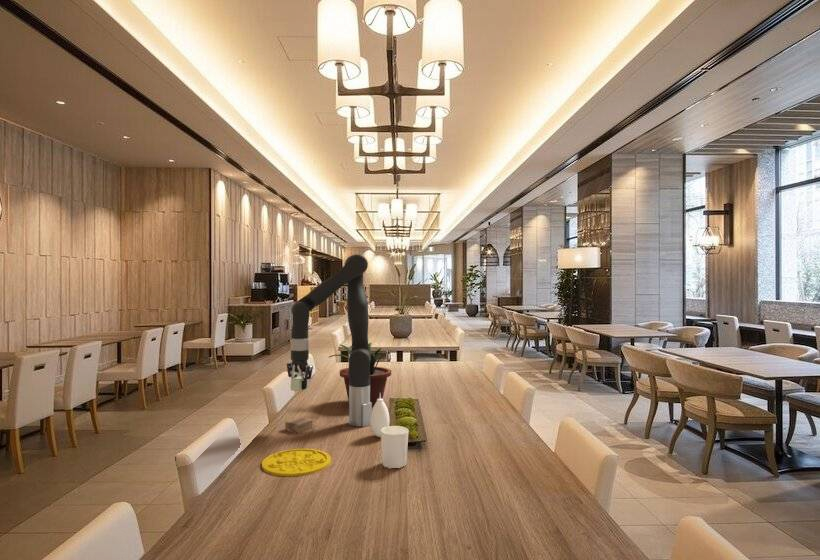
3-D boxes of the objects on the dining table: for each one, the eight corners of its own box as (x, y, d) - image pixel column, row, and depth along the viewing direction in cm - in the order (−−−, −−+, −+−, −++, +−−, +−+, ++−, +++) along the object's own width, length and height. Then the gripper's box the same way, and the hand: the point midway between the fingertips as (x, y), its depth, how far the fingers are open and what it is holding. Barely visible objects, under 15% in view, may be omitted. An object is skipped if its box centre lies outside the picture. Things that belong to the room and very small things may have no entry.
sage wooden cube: (307, 389, 208) (307, 377, 208) (298, 391, 204) (299, 379, 204) (299, 388, 211) (299, 376, 211) (290, 390, 206) (290, 378, 206)
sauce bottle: (386, 440, 193) (387, 395, 193) (367, 438, 195) (368, 394, 195) (391, 434, 201) (391, 391, 201) (373, 433, 203) (373, 390, 203)
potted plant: (388, 414, 231) (389, 351, 231) (321, 413, 232) (322, 350, 232) (392, 396, 266) (393, 342, 266) (334, 396, 266) (334, 341, 266)
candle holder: (374, 466, 166) (375, 431, 166) (389, 457, 175) (389, 424, 175) (399, 472, 162) (400, 436, 162) (413, 462, 170) (413, 428, 170)
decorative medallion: (260, 480, 155) (260, 474, 155) (262, 455, 177) (262, 449, 177) (334, 473, 161) (334, 467, 161) (327, 449, 184) (327, 444, 184)
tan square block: (312, 429, 208) (312, 420, 208) (298, 434, 201) (299, 424, 201) (299, 426, 212) (299, 417, 212) (285, 431, 205) (285, 421, 205)
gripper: (318, 349, 206) (317, 389, 206) (294, 346, 214) (294, 384, 214) (305, 351, 200) (304, 392, 200) (281, 348, 208) (281, 387, 208)
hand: (299, 388), depth 207 cm, fingers closed on sage wooden cube, 5 cm apart
